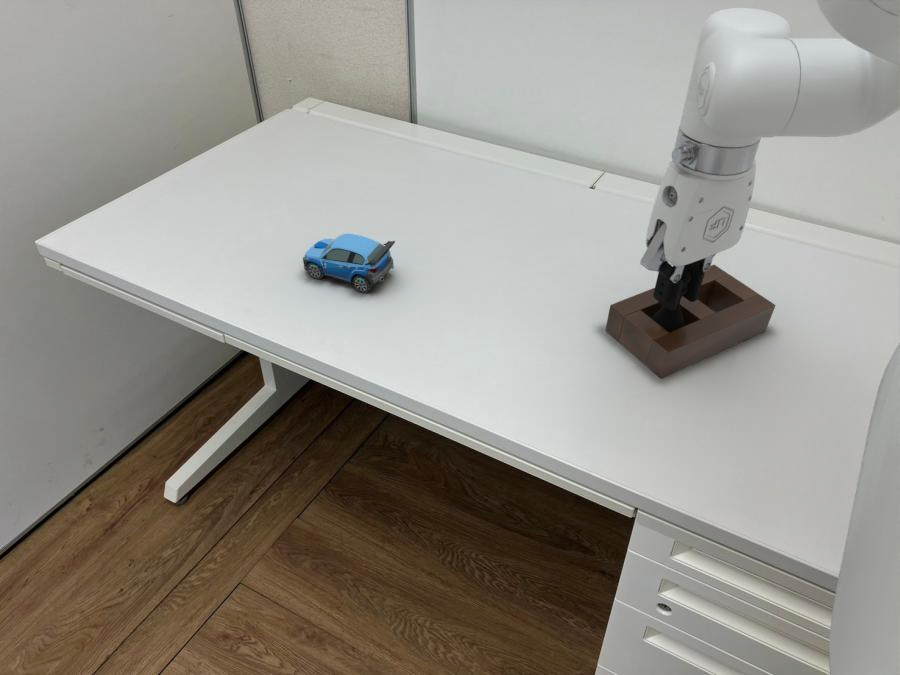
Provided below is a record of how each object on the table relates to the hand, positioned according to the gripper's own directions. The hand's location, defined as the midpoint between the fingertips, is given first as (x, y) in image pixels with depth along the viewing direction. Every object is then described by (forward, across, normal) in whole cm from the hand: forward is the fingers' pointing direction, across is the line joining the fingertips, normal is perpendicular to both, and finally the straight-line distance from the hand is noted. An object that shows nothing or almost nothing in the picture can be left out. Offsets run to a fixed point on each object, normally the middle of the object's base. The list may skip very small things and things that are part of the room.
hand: (674, 298), depth 80 cm
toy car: (+7, -27, +31) cm, 42 cm away
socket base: (+6, +4, 0) cm, 7 cm away
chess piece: (+5, 0, 0) cm, 5 cm away
